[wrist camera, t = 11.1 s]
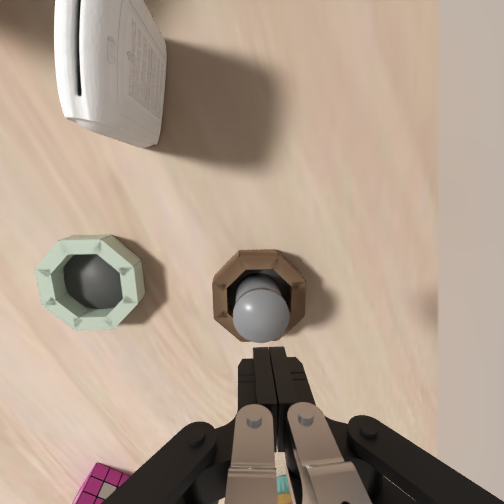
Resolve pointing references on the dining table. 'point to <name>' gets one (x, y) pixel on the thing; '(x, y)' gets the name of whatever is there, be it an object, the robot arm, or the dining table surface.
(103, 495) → the puzzle toy
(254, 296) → the cap
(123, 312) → the sage ring
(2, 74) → the dining table surface
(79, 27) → the photo printer
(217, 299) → the walnut ring
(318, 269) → the dining table surface
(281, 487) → the cupcake
